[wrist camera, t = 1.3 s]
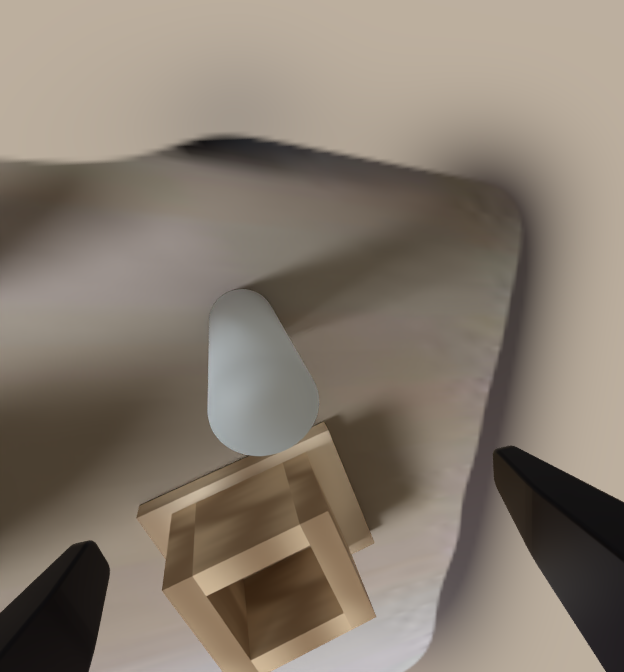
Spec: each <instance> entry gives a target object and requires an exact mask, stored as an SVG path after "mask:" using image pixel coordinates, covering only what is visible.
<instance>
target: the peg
mask: <svg viewBox="0 0 624 672" xmlns="http://www.w3.org/2000/svg"><path fill="white" fill-rule="evenodd" d="M318 409H319V394H318V390H317V387H316V384H315V382H314V380H313V378H312V376H311V375H310V373H309V371H308V369H307V368H306V366H305V364H304V362H303V361H302V359H301V357H300V355H299V354H298V352H297V350H296V349H295V347H294V345H293V343H292V342H291V340H290V338H289V336H288V335H287V333H286V331H285V329H284V328H283V326H282V324H281V322H280V321H279V319H278V317H277V315H276V314H275V312H274V310H273V308H272V307H271V305H270V303H269V302H268V301H267V300H266V298H264V297H263V296H262V295H261V294H259V293H257V292H255V291H252V290H248V289H237V290H232V291H229V292H227V293H225V294H224V295H222V296H221V297H220V298H219V299H218V300H217V301H216V302H215V303H214V305H213V307H212V309H211V312H210V316H209V358H208V419H209V423H210V426H211V428H212V430H213V432H214V434H215V435H216V437H217V438H218V439H219V440H220V441H221V442H222V443H223V444H224V445H225V446H227V447H228V448H230V449H231V450H234V451H236V452H238V453H241V454H244V455H250V456H267V455H273V454H276V453H280V452H282V451H285V450H287V449H289V448H291V447H292V446H294V445H295V444H297V443H298V442H299V441H300V440H301V439H303V438H304V436H305V435H306V434H307V433H308V432H309V430H310V429H311V427H312V426H313V424H314V422H315V420H316V417H317V414H318Z"/></svg>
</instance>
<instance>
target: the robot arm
mask: <svg viewBox="0 0 624 672" xmlns="http://www.w3.org/2000/svg"><path fill="white" fill-rule="evenodd" d="M493 469H494V481H495V484H496V487H497V489H498V491H499V493H500V495H501V497H502V499H503V501H504V503H505V505H506V507H507V509H508V511H509V513H510V515H511V517H512V519H513V521H514V522H515V524H516V526H517V528H518V530H519V532H520V534H521V536H522V538H523V540H524V542H525V544H526V546H527V548H528V550H529V552H530V553H531V555H532V557H533V559H534V560H535V562H536V564H537V565H538V567H539V568H540V570H541V571H542V573H543V575H544V576H545V578H546V579H547V581H548V582H549V584H550V585H551V587H552V589H553V590H554V592H555V593H556V595H557V596H558V598H559V599H560V601H561V602H562V604H563V606H564V607H565V609H566V610H567V612H568V613H569V615H570V617H571V618H572V620H573V621H574V623H575V624H576V626H577V627H578V629H579V631H580V632H581V634H582V635H583V637H584V638H585V640H586V641H587V643H588V645H589V646H590V647H591V649H592V651H593V652H594V654H595V655H596V657H597V658H598V660H599V662H600V663H601V665H602V666H603V668H604V669H605V671H606V672H624V502H622V501H621V500H619V499H616V498H615V497H613V496H611V495H608V494H607V493H605V492H603V491H601V490H599V489H597V488H595V487H593V486H591V485H589V484H587V483H585V482H583V481H581V480H580V479H578V478H576V477H574V476H572V475H570V474H568V473H566V472H564V471H562V470H560V469H558V468H556V467H554V466H552V465H550V464H548V463H546V462H544V461H543V460H540V459H539V458H537V457H535V456H533V455H531V454H529V453H527V452H525V451H523V450H521V449H519V448H517V447H515V446H506V447H501V448H497V449H495V450H494V452H493ZM109 576H110V568H109V564H108V562H107V561H106V559H105V557H104V556H103V554H102V552H101V551H100V549H99V547H98V546H97V544H96V543H95V542H94V541H90V540H89V541H84V542H80V543H76V544H73V545H72V546H70V547H69V548H68V549H67V550H66V551H65V552H64V553H63V554H62V555H61V556H60V557H59V558H58V559H56V560H55V561H54V562H53V563H52V564H51V565H50V566H49V567H48V568H47V569H46V570H45V571H44V572H43V573H42V574H41V575H40V576H39V577H38V578H36V579H35V580H34V581H33V582H32V583H31V584H30V585H29V586H28V587H27V588H26V589H25V590H24V591H23V592H22V593H21V594H20V595H19V596H18V597H17V598H15V599H14V600H13V601H12V602H11V603H10V604H9V605H8V606H7V607H6V608H5V609H4V610H3V611H2V612H1V613H0V672H89V668H90V665H91V661H92V658H93V654H94V650H95V645H96V641H97V636H98V631H99V626H100V621H101V616H102V611H103V606H104V601H105V596H106V591H107V586H108V581H109Z"/></svg>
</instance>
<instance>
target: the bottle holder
mask: <svg viewBox="0 0 624 672" xmlns="http://www.w3.org/2000/svg"><path fill="white" fill-rule="evenodd" d="M137 520H138V521H139V523H140V524H141V525H142V527H143V528H144V530H145V531H146V532H147V534H148V535H149V537H150V538H151V539H152V541H153V542H154V544H155V545H156V546H157V548H158V549H159V551H160V552H161V553H162V555H163V556H164V558H165V559H166V563H165V571H164V579H163V587H162V591H163V593H164V594H165V595H166V597H167V598H168V599H169V601H170V602H171V603H172V605H173V606H174V607H175V609H176V610H177V611H178V613H179V614H180V615H181V617H182V618H183V619H184V621H185V622H186V623H187V625H188V626H189V627H190V629H191V630H192V631H193V633H194V634H195V635H196V637H197V638H198V639H199V641H200V642H201V643H202V645H203V646H204V647H205V649H206V650H207V651H208V653H209V654H210V655H211V657H212V658H213V659H214V661H215V662H216V663H217V665H218V666H219V667H220V669H221V670H222V671H223V672H270V671H272V670H274V669H276V668H278V667H280V666H282V665H284V664H286V663H288V662H290V661H292V660H294V659H296V658H298V657H300V656H302V655H303V654H305V653H307V652H309V651H311V650H313V649H315V648H317V647H319V646H321V645H323V644H325V643H327V642H329V641H331V640H333V639H335V638H336V637H338V636H340V635H342V634H344V633H346V632H348V631H350V630H352V629H354V628H356V627H358V626H360V625H362V624H364V623H366V622H367V621H369V620H371V619H373V618H375V617H376V615H375V612H374V610H373V607H372V605H371V602H370V600H369V597H368V595H367V592H366V590H365V587H364V585H363V582H362V580H361V577H360V575H359V572H358V570H357V567H356V565H355V562H354V560H353V557H352V555H351V554H353V553H355V552H357V551H359V550H361V549H363V548H365V547H368V546H370V545H372V544H374V540H373V538H372V535H371V533H370V530H369V528H368V526H367V523H366V521H365V518H364V516H363V513H362V511H361V509H360V506H359V504H358V501H357V499H356V496H355V494H354V492H353V489H352V487H351V484H350V482H349V479H348V477H347V474H346V472H345V470H344V467H343V465H342V462H341V460H340V457H339V455H338V453H337V450H336V448H335V445H334V443H333V440H332V438H331V436H330V433H329V431H328V429H327V427H326V425H325V423H324V422H322V423H320V424H318V425H316V426H313V427H311V429H310V430H309V432H308V433H307V434H306V435H305V436H304V438H303V439H301V440H300V441H299V442H298V443H297V444H295V445H294V446H292V447H291V448H289V449H287V450H285V451H282V452H280V453H276V454H273V455H267V456H248V457H245V458H243V459H241V460H239V461H237V462H235V463H232V464H230V465H228V466H226V467H224V468H221V469H219V470H217V471H215V472H213V473H210V474H208V475H206V476H204V477H202V478H200V479H197V480H195V481H193V482H191V483H189V484H186V485H184V486H182V487H180V488H178V489H175V490H173V491H171V492H169V493H167V494H165V495H162V496H160V497H158V498H156V499H154V500H151V501H149V502H147V503H145V504H143V505H140V506H139V509H138V514H137Z"/></svg>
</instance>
